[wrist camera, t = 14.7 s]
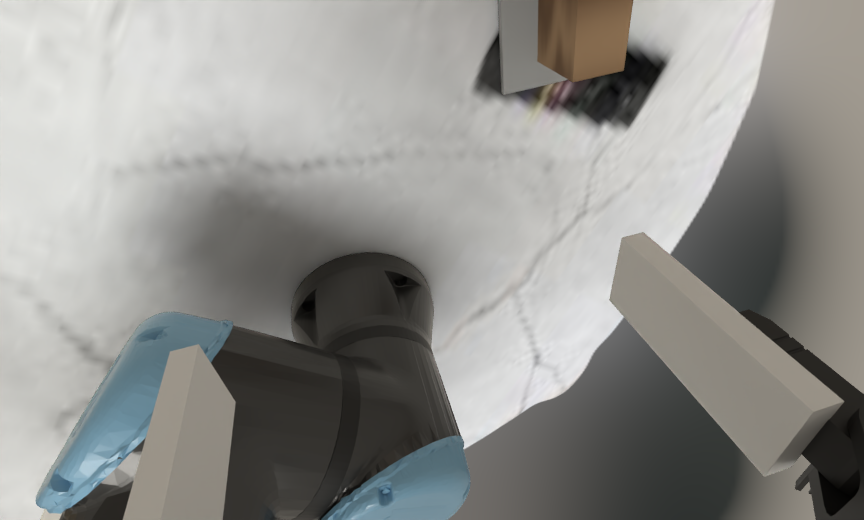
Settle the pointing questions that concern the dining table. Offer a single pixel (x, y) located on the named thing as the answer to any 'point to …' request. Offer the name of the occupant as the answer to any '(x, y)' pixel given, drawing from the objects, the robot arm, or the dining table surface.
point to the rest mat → (521, 47)
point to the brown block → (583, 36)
